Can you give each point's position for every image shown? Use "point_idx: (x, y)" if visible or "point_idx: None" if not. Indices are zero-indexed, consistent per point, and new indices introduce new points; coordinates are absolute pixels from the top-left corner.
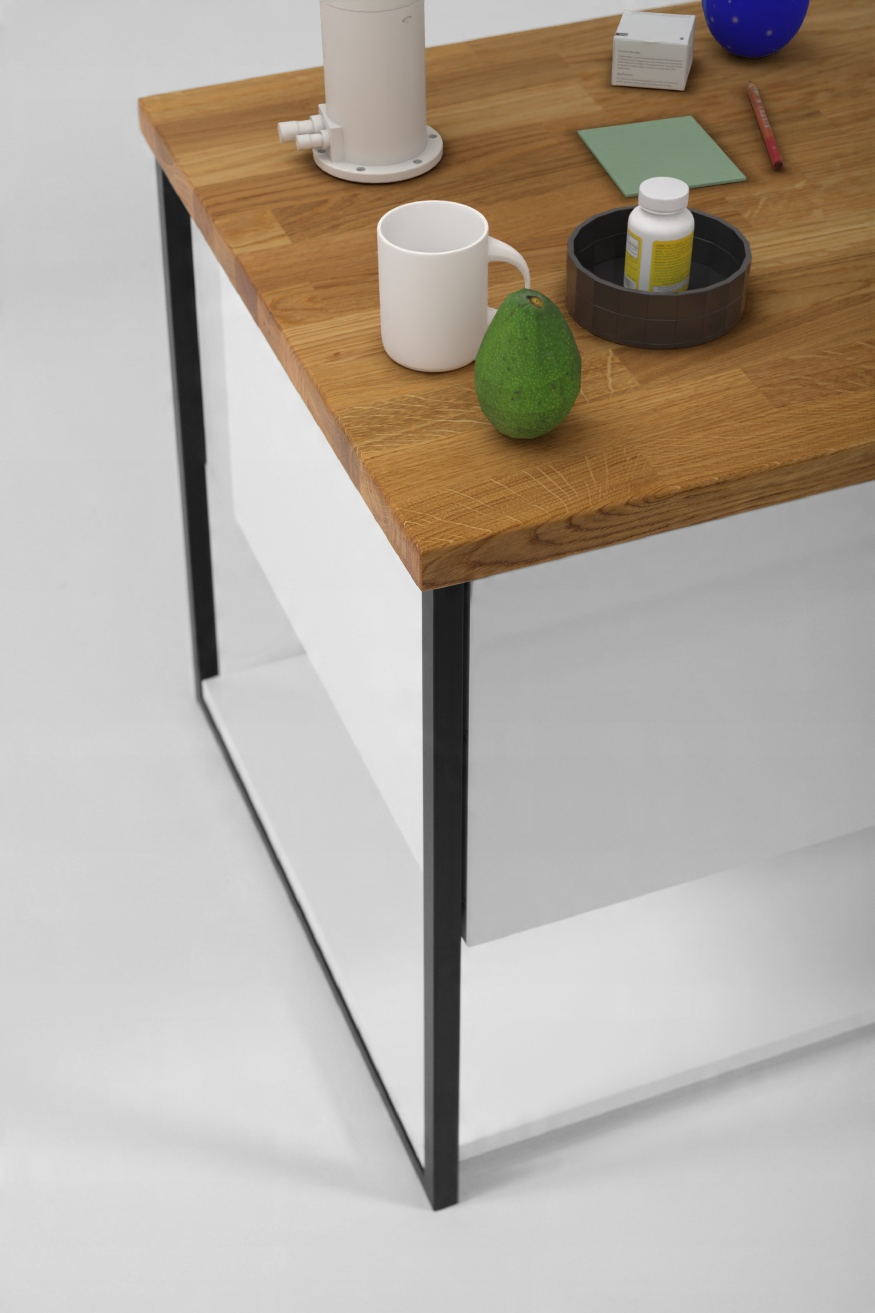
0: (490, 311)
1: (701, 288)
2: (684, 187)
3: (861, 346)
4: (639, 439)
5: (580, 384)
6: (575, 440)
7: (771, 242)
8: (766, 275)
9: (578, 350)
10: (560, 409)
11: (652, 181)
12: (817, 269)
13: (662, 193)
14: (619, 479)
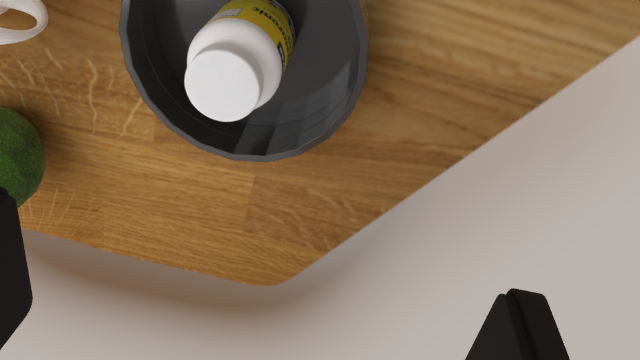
0: (4, 2)
1: (230, 153)
2: (247, 105)
3: (379, 214)
4: (111, 196)
5: (32, 194)
6: (58, 167)
7: (485, 9)
8: (412, 66)
9: (16, 201)
10: None
11: (217, 61)
12: (470, 93)
13: (208, 99)
14: (71, 222)
